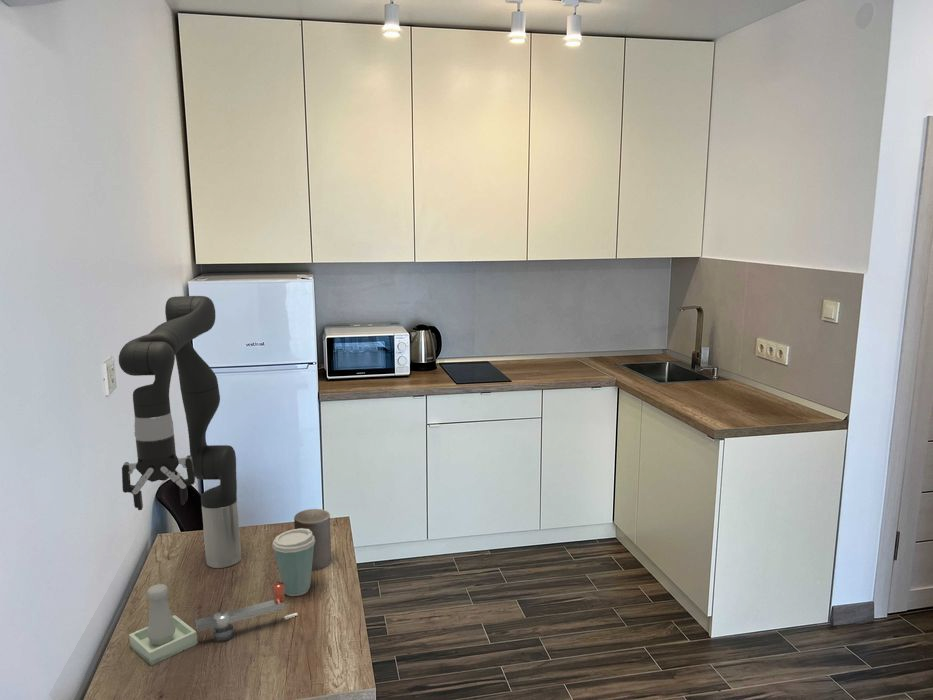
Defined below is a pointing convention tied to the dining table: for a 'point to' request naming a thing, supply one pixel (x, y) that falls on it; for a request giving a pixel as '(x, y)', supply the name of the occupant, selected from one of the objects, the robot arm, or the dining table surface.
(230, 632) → the crank base
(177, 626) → the tray
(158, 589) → the salt shaker
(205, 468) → the robot arm
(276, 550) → the disposable coffee cup
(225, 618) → the crank
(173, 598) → the dining table surface
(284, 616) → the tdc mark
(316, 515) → the pillar candle
